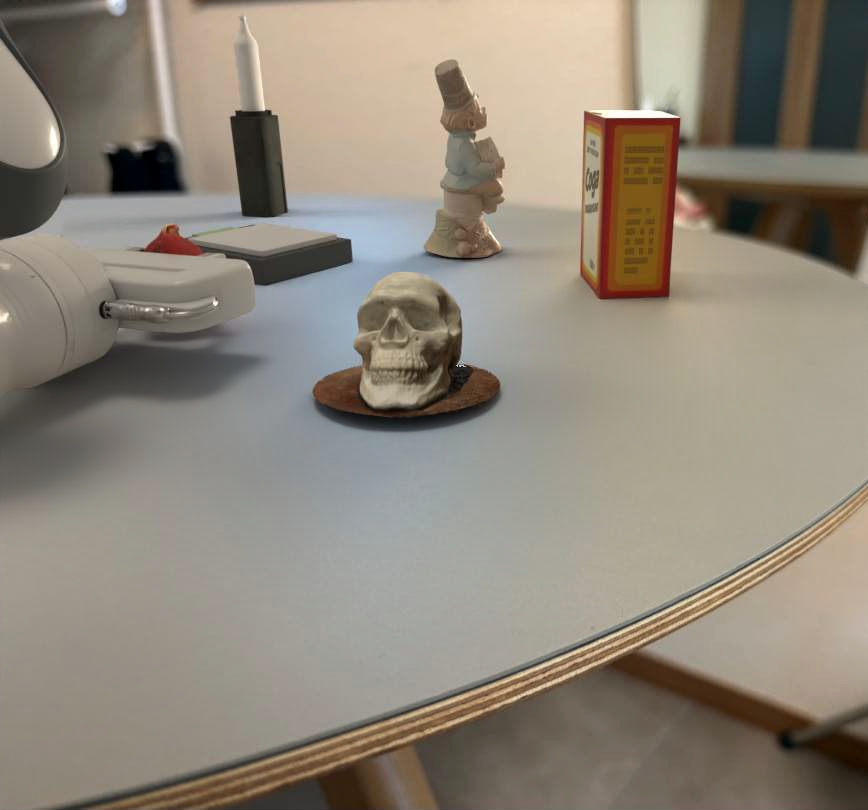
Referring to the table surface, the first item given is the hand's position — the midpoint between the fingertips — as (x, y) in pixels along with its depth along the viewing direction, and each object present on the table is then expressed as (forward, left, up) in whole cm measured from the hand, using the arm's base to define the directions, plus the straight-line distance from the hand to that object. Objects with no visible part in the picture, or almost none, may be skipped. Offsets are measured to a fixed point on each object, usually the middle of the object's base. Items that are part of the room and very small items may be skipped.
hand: (180, 260), depth 67 cm
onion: (0, -1, -5) cm, 5 cm away
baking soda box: (+23, +31, -6) cm, 39 cm away
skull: (+24, -2, -6) cm, 25 cm away
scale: (-12, +18, -5) cm, 22 cm away
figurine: (+2, +34, -6) cm, 35 cm away
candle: (-36, +39, -6) cm, 53 cm away
